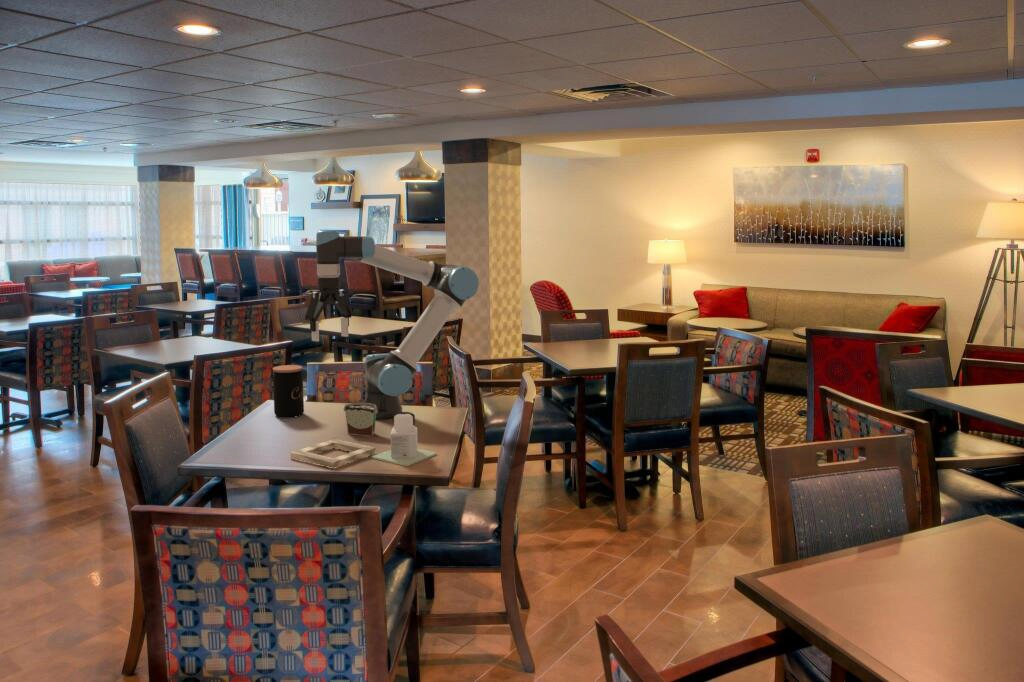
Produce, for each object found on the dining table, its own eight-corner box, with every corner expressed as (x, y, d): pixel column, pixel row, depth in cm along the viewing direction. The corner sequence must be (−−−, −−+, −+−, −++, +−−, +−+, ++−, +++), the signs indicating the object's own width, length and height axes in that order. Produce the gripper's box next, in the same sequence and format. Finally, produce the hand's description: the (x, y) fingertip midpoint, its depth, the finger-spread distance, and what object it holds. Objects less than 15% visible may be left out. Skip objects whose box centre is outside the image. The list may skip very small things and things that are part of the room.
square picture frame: (334, 444, 246) (334, 438, 246) (375, 454, 236) (375, 447, 236) (290, 458, 231) (290, 452, 231) (333, 469, 221) (333, 462, 221)
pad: (402, 447, 243) (402, 445, 243) (436, 454, 236) (436, 452, 236) (371, 458, 232) (371, 456, 232) (407, 466, 224) (407, 464, 224)
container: (392, 451, 237) (392, 410, 235) (417, 450, 238) (417, 410, 236) (390, 458, 230) (390, 416, 228) (416, 458, 230) (416, 416, 228)
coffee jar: (295, 419, 278) (294, 370, 276) (269, 417, 281) (266, 369, 278) (309, 412, 289) (307, 365, 286) (283, 410, 291) (281, 364, 288)
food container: (385, 432, 261) (384, 404, 260) (376, 437, 255) (375, 408, 254) (353, 429, 265) (352, 401, 264) (344, 433, 259) (343, 405, 258)
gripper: (347, 274, 270) (348, 333, 273) (292, 278, 249) (294, 342, 252) (362, 275, 266) (364, 335, 269) (308, 278, 245) (310, 344, 248)
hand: (330, 338), depth 261 cm, fingers open, 13 cm apart
